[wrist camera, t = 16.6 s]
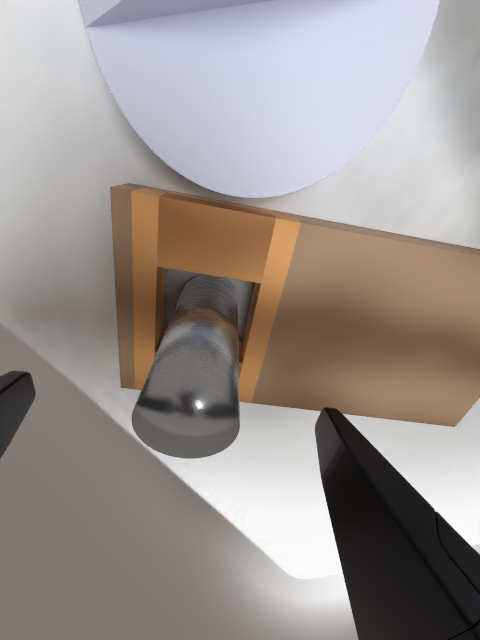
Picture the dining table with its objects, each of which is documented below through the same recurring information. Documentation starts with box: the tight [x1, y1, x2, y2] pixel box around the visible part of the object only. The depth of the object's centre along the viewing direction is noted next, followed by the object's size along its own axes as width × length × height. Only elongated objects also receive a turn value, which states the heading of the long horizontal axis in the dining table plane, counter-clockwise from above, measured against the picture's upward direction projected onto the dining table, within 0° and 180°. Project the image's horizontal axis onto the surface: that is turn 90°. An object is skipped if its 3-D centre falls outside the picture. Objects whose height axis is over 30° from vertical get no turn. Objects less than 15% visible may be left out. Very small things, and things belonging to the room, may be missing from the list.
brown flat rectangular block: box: [110, 183, 480, 427], centre depth 14 cm, size 10×20×2 cm, turn 80°
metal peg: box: [132, 274, 240, 458], centre depth 11 cm, size 3×3×8 cm
